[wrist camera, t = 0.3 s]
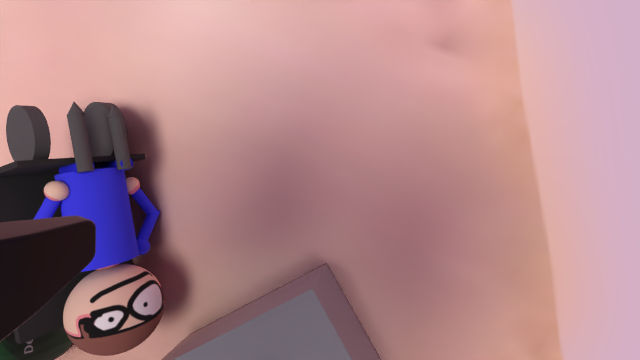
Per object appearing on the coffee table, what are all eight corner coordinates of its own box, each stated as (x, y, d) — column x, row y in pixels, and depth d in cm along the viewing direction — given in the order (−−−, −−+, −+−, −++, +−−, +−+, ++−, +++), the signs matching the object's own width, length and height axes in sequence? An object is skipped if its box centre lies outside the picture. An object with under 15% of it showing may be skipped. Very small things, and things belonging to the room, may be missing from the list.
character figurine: (160, 100, 25) (194, 315, 25) (63, 116, 25) (98, 324, 26) (68, 74, 17) (121, 386, 18) (-68, 98, 18) (-11, 395, 18)
